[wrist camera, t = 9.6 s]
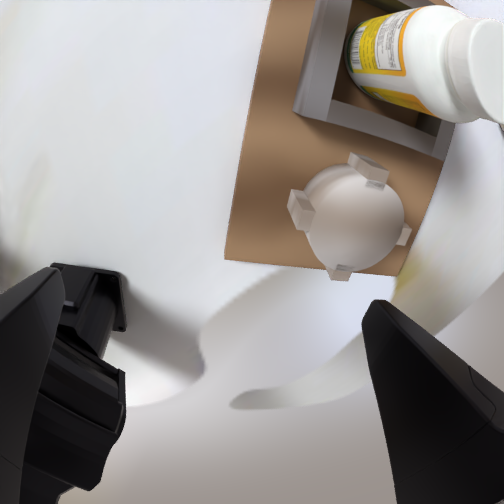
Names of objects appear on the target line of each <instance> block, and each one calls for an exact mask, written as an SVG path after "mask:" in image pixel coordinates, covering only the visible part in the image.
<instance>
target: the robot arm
mask: <svg viewBox="0 0 504 504" xmlns="http://www.w3.org/2000/svg"><path fill="white" fill-rule="evenodd" d="M112 277H114V278H115V279H113V278H112ZM126 328H127V324H126V317H125V310H124V303H123V295H122V287H121V278H120V275H119V274H118V273H117V272H115V271H108V270H101V269H94V268H86V267H79V266H73V265H66V264H59V263H52V264H51V265H50V267H45V268H43V269H41V270H40V271H38V272H36V273H35V274H33V275H31V276H30V277H28V278H26V279H25V280H23V281H21V282H20V283H18V284H16V285H15V286H13V287H12V288H10V289H8V290H7V291H5V292H4V293H2V294H1V295H0V504H58V501H59V498H60V496H61V495H62V494H64V493H66V492H67V491H69V490H70V489H73V488H74V487H78V488H81V489H83V490H86V491H91V490H92V489H93V488H94V487H95V486H96V485H97V484H98V483H99V482H100V481H101V477H102V473H103V469H104V465H105V462H106V459H107V457H108V454H109V452H110V450H111V448H112V446H113V445H114V444H115V443H116V441H117V440H118V438H119V437H120V435H121V433H122V430H123V427H124V424H125V419H126V394H125V372H124V371H122V370H120V369H117V368H115V367H113V366H112V365H110V364H108V363H107V362H105V361H103V357H104V353H105V350H106V347H107V344H108V340H109V337H110V334H111V331H112V330H113V331H119V332H125V331H126ZM362 332H363V337H364V343H365V348H366V354H367V361H368V366H369V371H370V375H371V379H372V383H373V387H374V391H375V395H376V399H377V403H378V407H379V411H380V416H381V420H382V424H383V429H384V434H385V438H386V443H387V448H388V453H389V458H390V464H391V468H392V474H393V480H394V484H395V485H394V487H395V494H396V500H397V504H504V392H503V391H501V390H500V389H499V388H497V387H496V386H495V385H493V384H492V383H491V382H489V381H488V380H487V379H486V378H484V377H483V376H482V375H480V374H479V373H478V372H477V371H476V370H474V369H473V368H472V367H471V366H469V365H468V364H467V363H466V362H465V361H463V360H462V359H461V358H460V357H458V356H457V355H456V354H455V353H453V352H452V351H451V350H450V349H449V348H447V347H446V346H445V345H444V344H442V343H441V342H439V341H438V340H437V339H436V338H435V337H433V336H432V335H431V334H430V333H428V332H427V331H426V330H424V329H423V328H422V327H421V326H419V325H418V324H417V323H415V322H414V321H413V320H412V319H410V318H409V317H408V316H406V315H405V314H404V313H402V312H401V311H400V310H398V309H397V308H396V307H395V306H393V305H392V304H391V303H389V302H388V301H386V300H374V301H372V302H371V304H370V306H369V308H368V310H367V312H366V313H365V315H364V317H363V320H362Z"/></svg>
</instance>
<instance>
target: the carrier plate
mask: <svg viewBox="0 0 504 504" xmlns="http://www.w3.org/2000/svg"><path fill="white" fill-rule="evenodd" d="M432 5H441V6H448V7H451V8H454V7H453V6H451V5H450V4H448V3H447V2H445V1H444V0H271V4H270V8H269V13H268V17H267V22H266V26H265V31H264V36H263V41H262V45H261V50H260V55H259V60H258V65H257V70H256V75H255V80H254V85H253V90H252V95H251V100H250V106H249V111H248V116H247V121H246V127H245V132H244V138H243V143H242V149H241V155H240V160H239V166H238V172H237V177H236V183H235V189H234V195H233V201H232V207H231V213H230V219H229V226H228V232H227V238H226V245H225V251H224V259H225V260H235V261H244V262H254V263H263V264H273V265H283V266H293V267H303V268H313V269H323V270H327V272H328V274H329V276H330V279H331V280H337V281H348V280H349V278H350V275H351V273H352V272H354V273H364V274H375V275H385V276H396V277H397V275H398V273H399V271H400V269H401V267H402V264H403V262H404V260H405V258H406V256H407V254H408V252H409V250H410V248H411V245H412V243H413V241H414V239H415V236H416V234H417V232H418V230H419V227H420V225H421V222H422V220H423V218H424V215H425V213H426V210H427V208H428V205H429V203H430V200H431V198H432V195H433V192H434V190H435V187H436V184H437V181H438V178H439V176H440V173H441V170H442V167H443V164H444V161H445V158H446V155H447V152H448V149H449V145H450V142H451V138H452V135H453V131H454V128H455V124H456V123H453V122H449V121H446V120H443V119H440V118H437V117H435V116H432V115H429V114H426V113H423V112H419V111H416V110H413V109H410V108H406V107H403V106H399V105H396V104H393V103H389V102H385V101H381V100H378V99H376V98H373V97H371V96H369V95H368V94H366V93H364V92H363V91H362V90H361V89H360V88H359V87H358V86H357V85H356V84H355V82H354V81H353V80H352V78H351V76H350V75H349V73H348V70H347V67H346V64H345V59H344V47H345V42H346V39H347V37H348V35H349V34H350V32H351V31H352V30H353V28H354V27H356V26H357V25H358V24H360V23H361V22H364V21H366V20H370V19H373V18H377V17H380V16H384V15H388V14H392V13H396V12H401V11H405V10H409V9H414V8H420V7H425V6H432ZM454 9H455V8H454ZM456 10H457V9H456Z"/></svg>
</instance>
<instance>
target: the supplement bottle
mask: <svg viewBox="0 0 504 504" xmlns="http://www.w3.org/2000/svg"><path fill="white" fill-rule="evenodd" d="M344 59H345V64H346V67H347V70H348V73H349V75H350V76H351V78H352V80H353V81H354V82H355V84H356V85H357V86H358V87H359V88H360V89H361V90H362V91H363V92H364V93H366V94H368V95H369V96H371V97H373V98H376V99H378V100H381V101H385V102H389V103H393V104H396V105H399V106H403V107H406V108H410V109H413V110H416V111H419V112H423V113H426V114H429V115H432V116H435V117H437V118H440V119H443V120H446V121H449V122H453V123H469V122H472V121H475V120H477V119H479V118H482V119H487V120H490V121H493V122H496V123H499V124H502V125H504V24H503V23H501V22H500V21H497V20H495V19H489V18H470V17H468V16H467V15H466V14H464V13H462V12H461V11H459V10H456V9H454V8H451V7H448V6H441V5H432V6H425V7H420V8H414V9H409V10H405V11H401V12H396V13H392V14H388V15H384V16H380V17H377V18H373V19H370V20H366V21H364V22H361V23H360V24H358V25H357V26H356V27H354V28H353V30H352V31H351V32H350V34H349V35H348V37H347V39H346V42H345V47H344Z"/></svg>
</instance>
